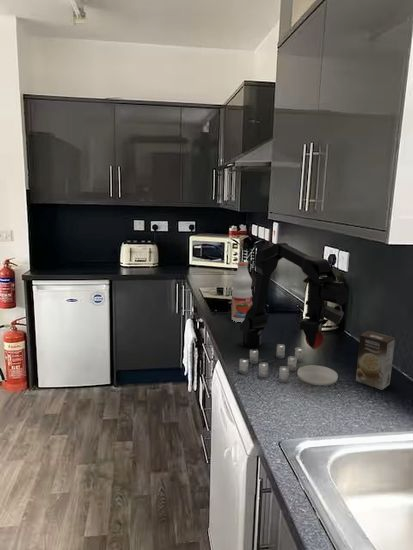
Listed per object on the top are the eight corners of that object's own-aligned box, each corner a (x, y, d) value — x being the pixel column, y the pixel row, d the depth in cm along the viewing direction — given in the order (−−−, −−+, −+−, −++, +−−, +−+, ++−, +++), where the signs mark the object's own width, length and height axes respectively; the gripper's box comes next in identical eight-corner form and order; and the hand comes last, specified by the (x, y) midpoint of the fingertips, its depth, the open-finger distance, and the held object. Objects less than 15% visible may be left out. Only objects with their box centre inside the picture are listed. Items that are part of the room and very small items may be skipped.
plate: (292, 380, 137) (292, 376, 137) (302, 365, 149) (303, 362, 148) (333, 388, 131) (333, 385, 131) (340, 373, 143) (340, 369, 143)
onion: (309, 344, 143) (310, 322, 141) (325, 348, 139) (327, 325, 138) (301, 349, 138) (302, 326, 137) (318, 353, 135) (319, 329, 133)
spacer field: (237, 373, 142) (238, 360, 141) (260, 351, 161) (260, 340, 160) (286, 383, 135) (287, 370, 134) (303, 359, 154) (304, 348, 153)
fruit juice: (244, 316, 206) (245, 260, 200) (255, 321, 198) (256, 263, 192) (227, 319, 202) (228, 261, 196) (238, 324, 194) (239, 264, 188)
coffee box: (354, 381, 137) (358, 334, 134) (363, 375, 141) (367, 330, 138) (382, 390, 131) (387, 342, 127) (390, 384, 135) (395, 337, 132)
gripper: (336, 307, 124) (333, 357, 126) (347, 294, 140) (344, 339, 143) (299, 303, 129) (297, 351, 132) (313, 291, 145) (311, 334, 148)
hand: (314, 343), depth 138 cm, fingers closed on onion, 6 cm apart
